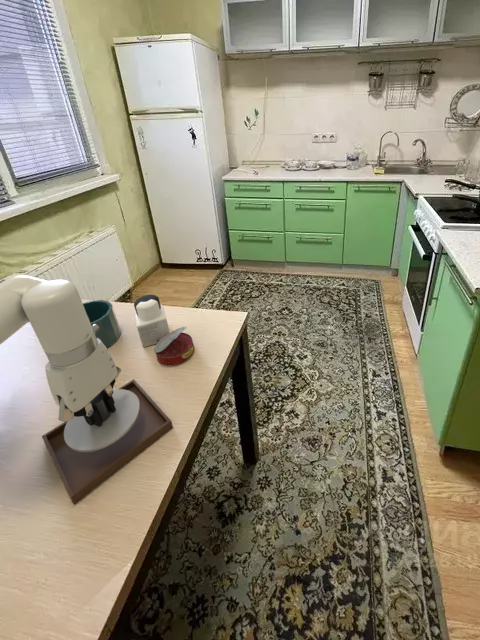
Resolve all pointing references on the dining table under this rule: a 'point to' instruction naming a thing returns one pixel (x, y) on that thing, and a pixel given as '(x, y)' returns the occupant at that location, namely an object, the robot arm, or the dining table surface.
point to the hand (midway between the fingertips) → (102, 415)
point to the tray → (106, 448)
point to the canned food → (174, 348)
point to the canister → (103, 320)
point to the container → (150, 319)
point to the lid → (103, 423)
